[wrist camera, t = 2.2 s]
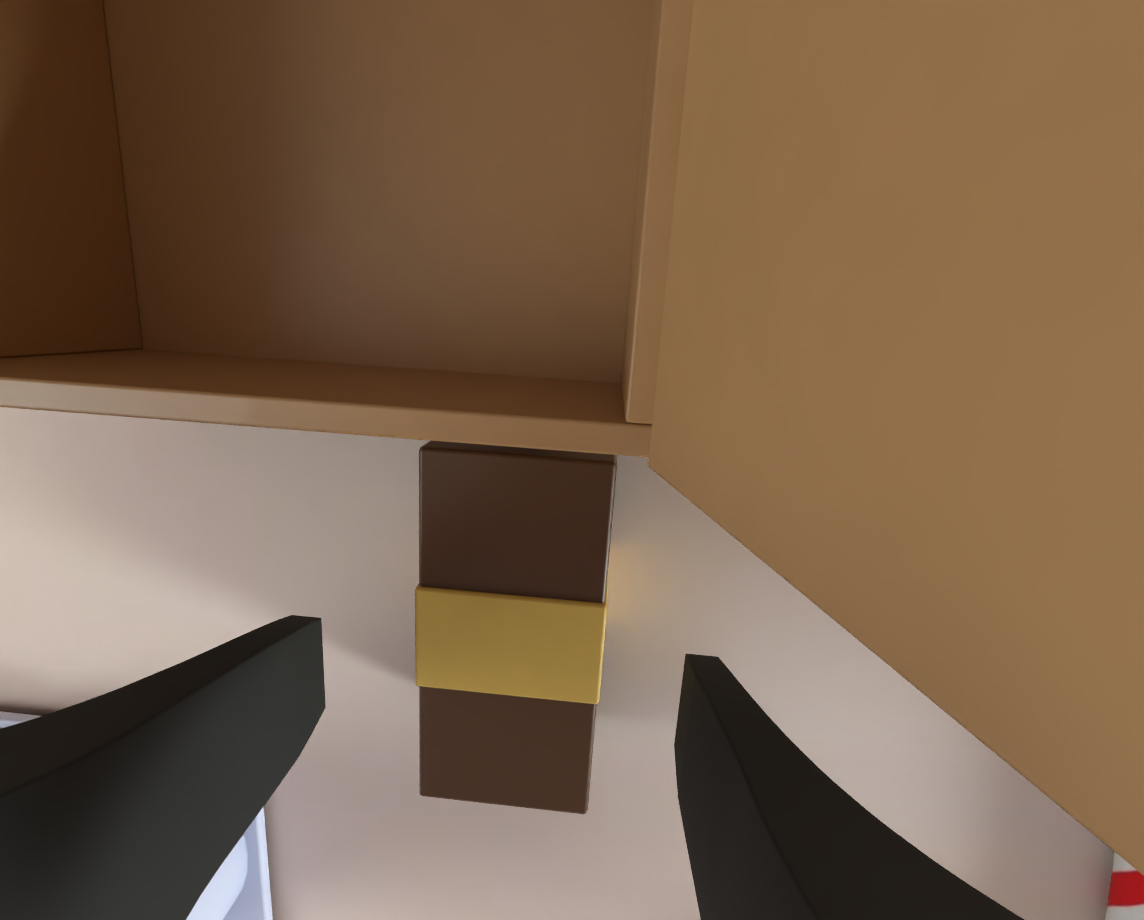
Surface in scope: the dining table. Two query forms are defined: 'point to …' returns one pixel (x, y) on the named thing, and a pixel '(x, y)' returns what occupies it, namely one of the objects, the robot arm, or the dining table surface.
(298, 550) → the dining table surface
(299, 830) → the dining table surface
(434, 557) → the chocolate bar
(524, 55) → the cardboard box
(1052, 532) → the box flap
